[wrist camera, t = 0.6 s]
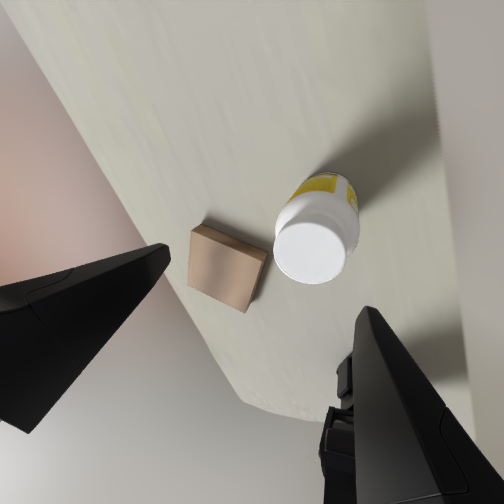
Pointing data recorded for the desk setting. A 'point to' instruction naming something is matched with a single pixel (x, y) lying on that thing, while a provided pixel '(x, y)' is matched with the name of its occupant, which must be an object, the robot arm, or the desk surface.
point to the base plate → (224, 267)
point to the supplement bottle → (317, 229)
